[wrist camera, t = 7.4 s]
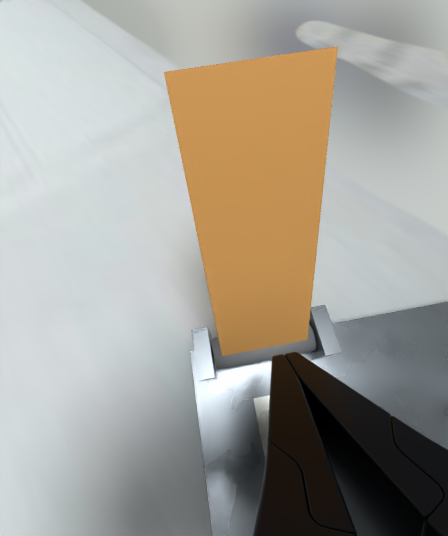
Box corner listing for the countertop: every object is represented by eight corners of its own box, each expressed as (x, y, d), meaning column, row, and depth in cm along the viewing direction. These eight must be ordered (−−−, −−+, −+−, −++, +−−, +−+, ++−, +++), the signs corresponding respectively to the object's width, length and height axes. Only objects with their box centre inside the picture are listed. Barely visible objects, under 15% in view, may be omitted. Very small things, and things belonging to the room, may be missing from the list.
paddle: (314, 357, 14) (357, 43, 6) (218, 376, 14) (147, 74, 6) (303, 334, 15) (327, 50, 8) (214, 351, 15) (152, 76, 8)
